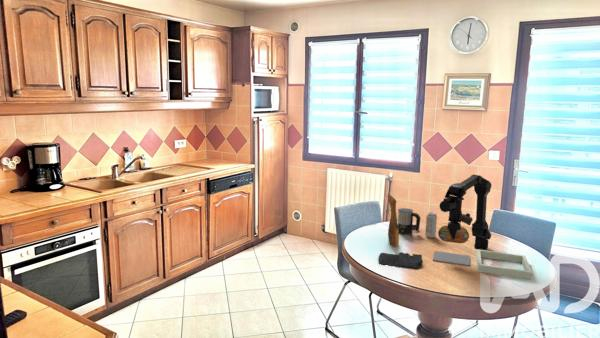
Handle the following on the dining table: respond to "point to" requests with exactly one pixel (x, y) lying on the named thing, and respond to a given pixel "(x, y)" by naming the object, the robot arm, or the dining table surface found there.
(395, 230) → the pancake mix bag
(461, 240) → the tin
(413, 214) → the milk frother
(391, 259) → the dark slate chunk
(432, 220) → the energy drink can
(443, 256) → the slate mat
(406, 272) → the dining table surface
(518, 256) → the grey square frame
